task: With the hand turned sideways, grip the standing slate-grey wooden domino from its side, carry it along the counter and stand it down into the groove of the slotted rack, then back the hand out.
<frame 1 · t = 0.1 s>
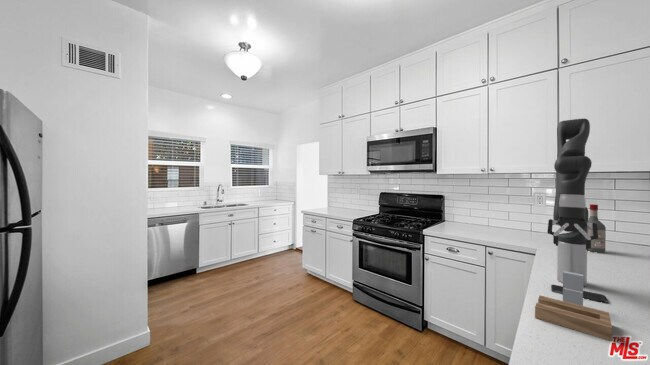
hand: (571, 247, 100), 17 cm above the counter, tool pointing down, fingers open, 8 cm apart
rack: (571, 320, 78), on the counter
phone: (577, 295, 98), on the counter
liquor: (593, 251, 164), on the counter
domino: (572, 305, 89), on the counter
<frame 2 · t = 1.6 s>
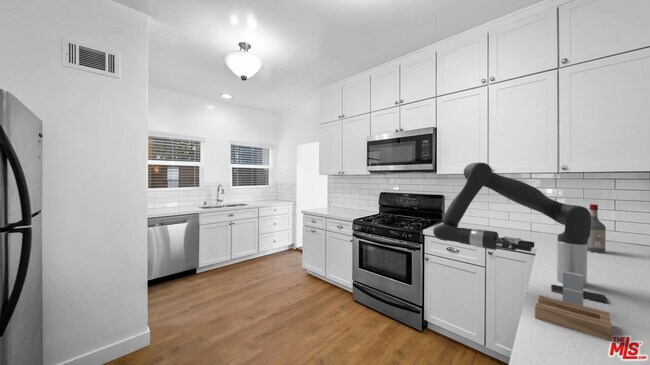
hand: (532, 246, 96), 18 cm above the counter, tool horizontal, fingers open, 8 cm apart
nothing on the counter moved.
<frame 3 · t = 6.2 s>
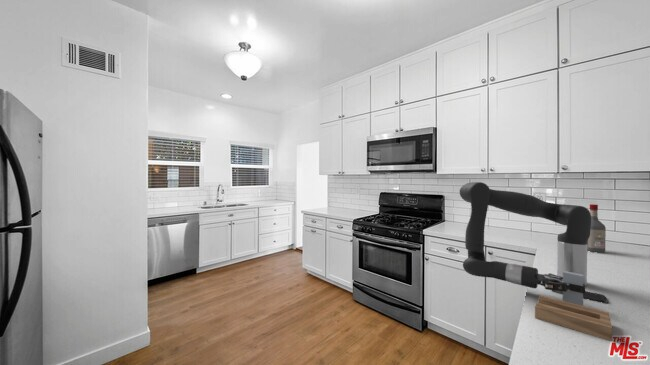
hand: (584, 288, 87), 7 cm above the counter, tool horizontal, fingers closed on domino, 2 cm apart
domino: (572, 305, 89), on the counter, touching gripper
everything else where it was.
when the fingers open (10 cm above the counter, at t = 11.7 s): domino drops 3 cm, resting in rack.
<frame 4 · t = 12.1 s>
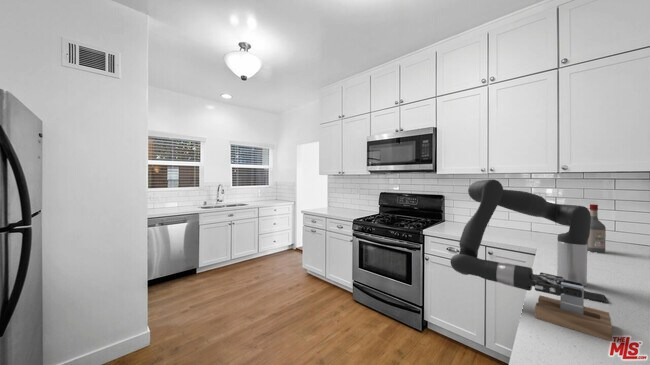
hand: (582, 290, 77), 10 cm above the counter, tool horizontal, fingers open, 6 cm apart
domino: (571, 321, 78), resting in rack
everything else where it was.
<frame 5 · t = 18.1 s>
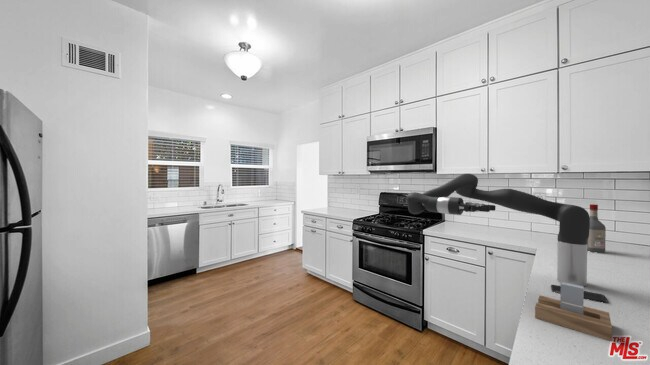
hand: (492, 208, 102), 32 cm above the counter, tool horizontal, fingers open, 8 cm apart
nothing on the counter moved.
at the end: domino inside the target area on the rack (0.1 cm from its centre), point 0.0 cm above the rack's base; domino tilted 0°; the gripper is holding nothing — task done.
